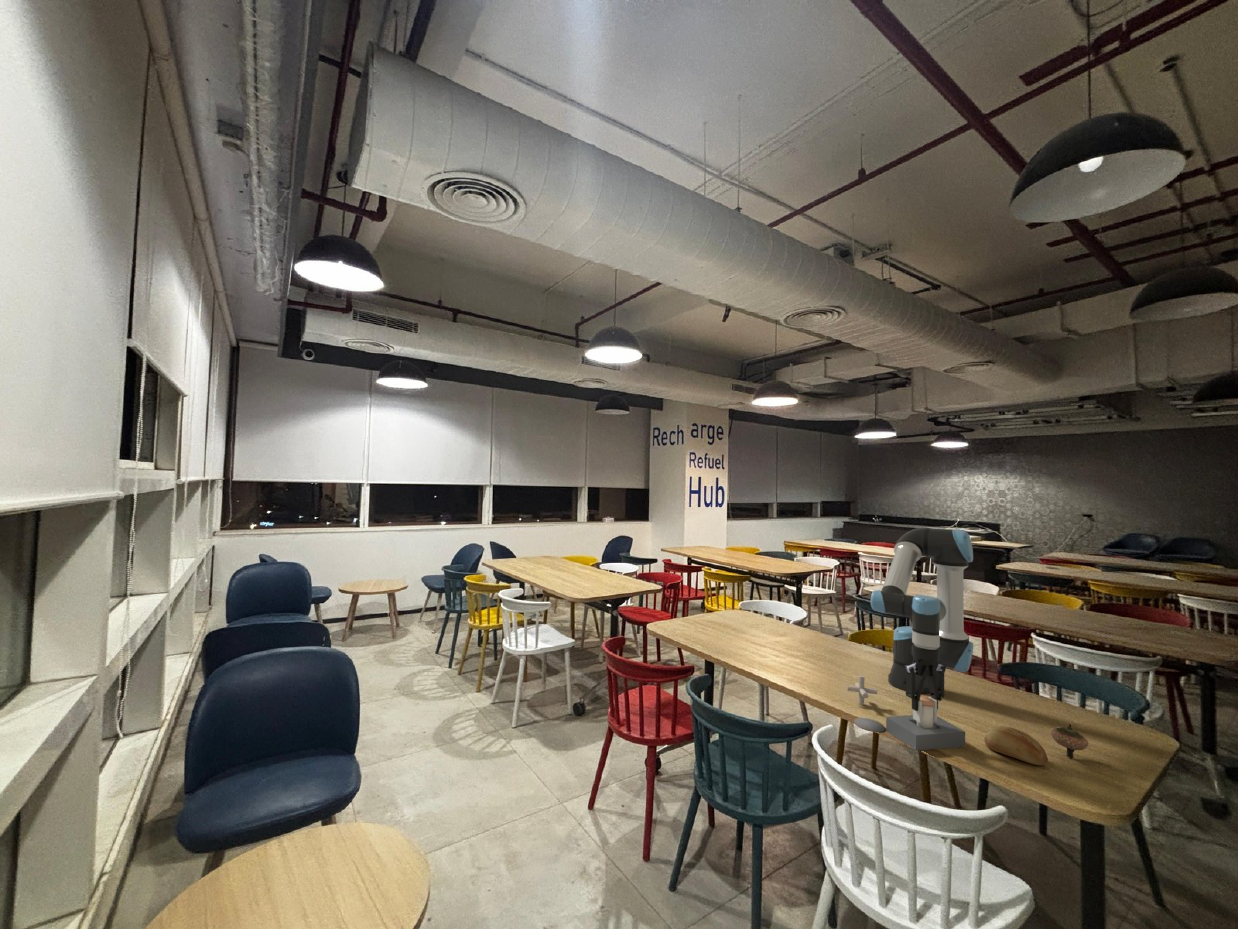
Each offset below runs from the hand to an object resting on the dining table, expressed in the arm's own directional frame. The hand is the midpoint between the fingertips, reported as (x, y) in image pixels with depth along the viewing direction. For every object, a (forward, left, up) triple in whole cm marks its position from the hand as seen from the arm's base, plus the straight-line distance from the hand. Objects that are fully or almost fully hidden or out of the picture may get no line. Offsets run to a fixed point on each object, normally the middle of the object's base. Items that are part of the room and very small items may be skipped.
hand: (924, 720), depth 154 cm
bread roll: (-19, +13, -6) cm, 24 cm away
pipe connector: (+3, -25, -6) cm, 26 cm away
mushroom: (0, 0, -6) cm, 6 cm away
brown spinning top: (-36, +16, -6) cm, 40 cm away
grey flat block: (0, 0, -6) cm, 6 cm away
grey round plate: (+12, -10, -6) cm, 17 cm away
